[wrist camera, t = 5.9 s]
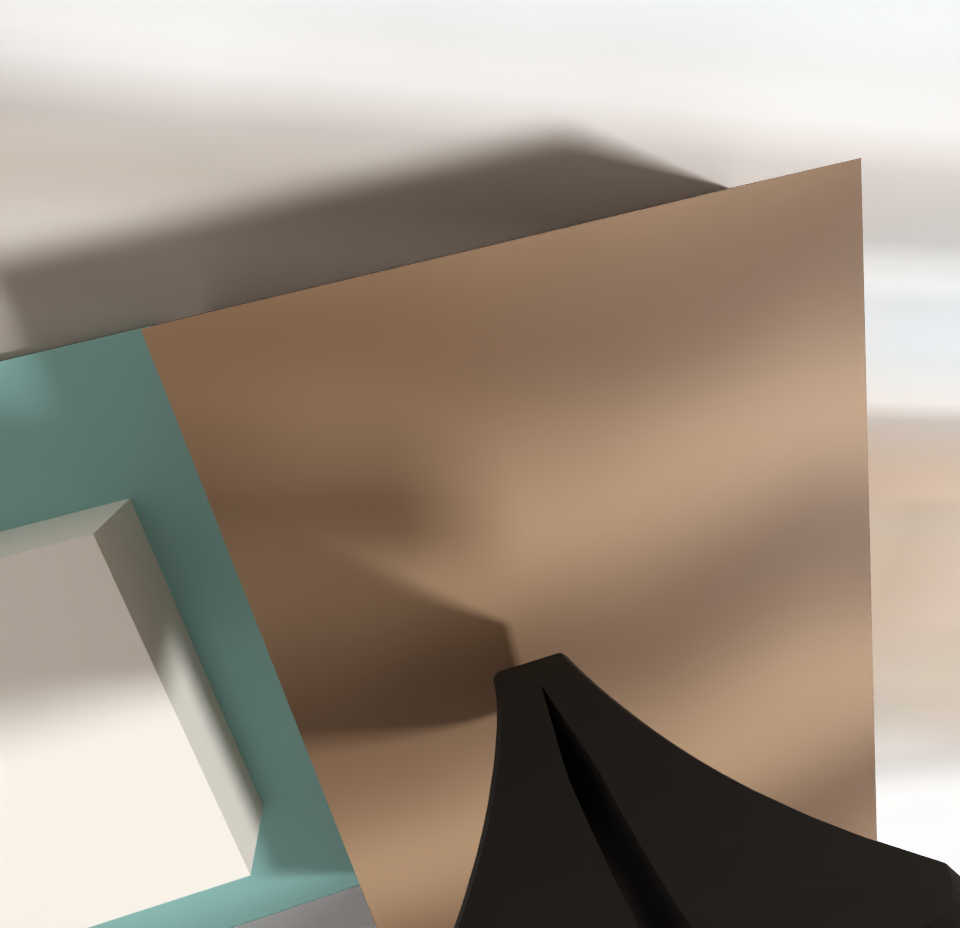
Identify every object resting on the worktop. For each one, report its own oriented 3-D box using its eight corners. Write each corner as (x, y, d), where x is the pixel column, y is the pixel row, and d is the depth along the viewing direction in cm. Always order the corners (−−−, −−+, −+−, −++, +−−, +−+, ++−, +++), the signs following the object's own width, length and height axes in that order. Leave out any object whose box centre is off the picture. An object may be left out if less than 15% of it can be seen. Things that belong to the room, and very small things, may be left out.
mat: (367, 872, 18) (367, 882, 18) (-28, 1004, 17) (-34, 1016, 17) (156, 324, 13) (151, 325, 13) (-425, 461, 12) (-444, 466, 12)
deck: (778, 736, 20) (876, 847, 16) (401, 861, 18) (410, 1013, 15) (730, 188, 14) (860, 158, 11) (204, 312, 13) (140, 328, 9)
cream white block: (-16, 961, 14) (28, 880, 16) (250, 875, 15) (263, 806, 17) (-250, 623, 11) (-162, 573, 13) (92, 534, 12) (130, 498, 14)
